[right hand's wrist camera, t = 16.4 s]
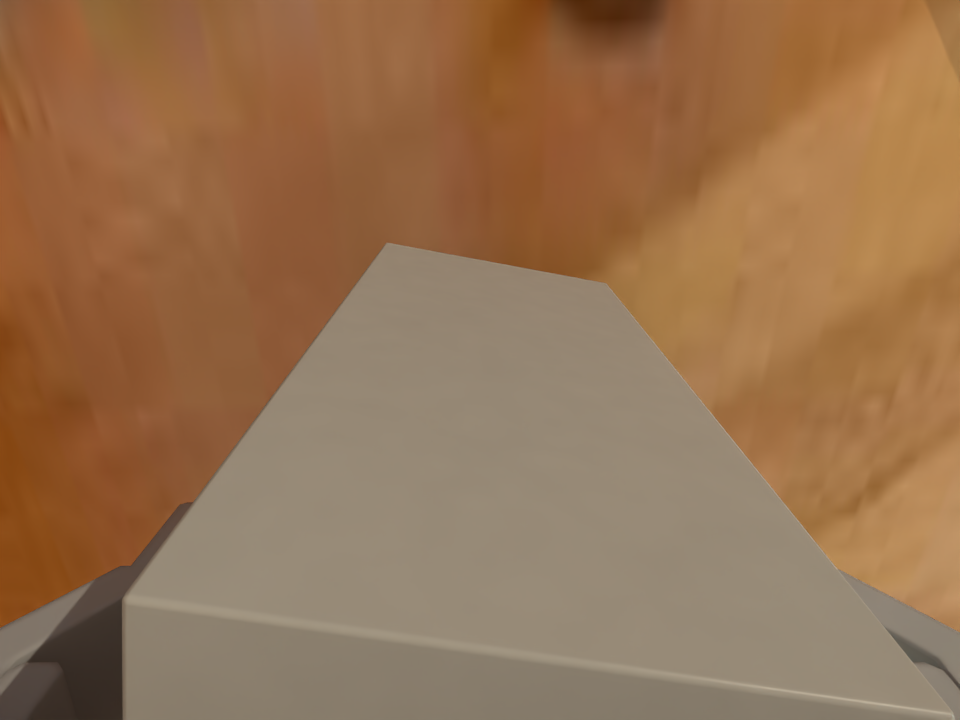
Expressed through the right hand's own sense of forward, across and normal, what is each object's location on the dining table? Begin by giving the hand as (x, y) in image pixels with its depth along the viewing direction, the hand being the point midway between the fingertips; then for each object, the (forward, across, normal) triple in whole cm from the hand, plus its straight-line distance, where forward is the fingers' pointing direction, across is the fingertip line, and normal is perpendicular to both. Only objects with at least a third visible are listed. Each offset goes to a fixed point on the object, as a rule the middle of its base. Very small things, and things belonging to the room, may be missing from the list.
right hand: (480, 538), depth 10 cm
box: (+8, -2, -8) cm, 11 cm away
